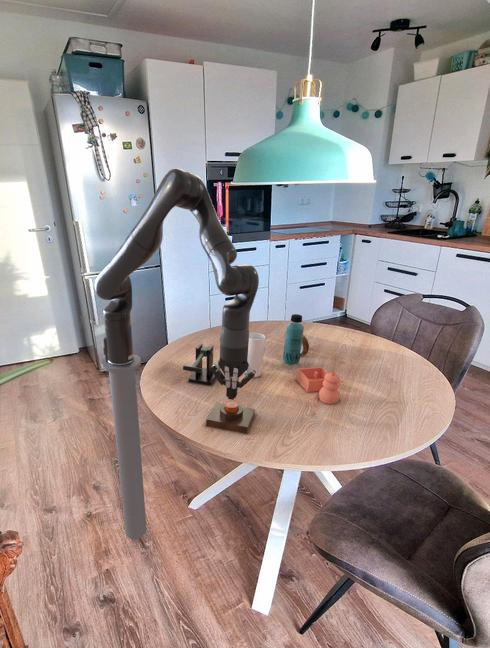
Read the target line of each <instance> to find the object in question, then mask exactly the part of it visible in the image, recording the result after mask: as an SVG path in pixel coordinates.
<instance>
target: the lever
mask: <svg viewBox="0 0 490 648" xmlns="http://www.w3.org/2000/svg"><path fill="white" fill-rule="evenodd" d="M209 347H210V346H205V345H204V346H203V345H202V348H201V350H200V355H199V357H198V358H197V360H196V359H195V361H194V363H192V365H191V366H189V365H183V367H182V370H183V371H188V372H193V373H194V372H199V373H201V372H202V368H203V367H202V368H196V367H197V366H198V364H199V363H200V361H201V360H202V361H203V358H207V349H208V348H209Z"/></svg>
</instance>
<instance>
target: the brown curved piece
mask: <svg viewBox="0 0 490 648" xmlns="http://www.w3.org/2000/svg"><path fill="white" fill-rule="evenodd" d="M285 339H286V332H285V334H284V340H285ZM301 347H302V348H301V353H300V356H305V355H307V354H308V353H309V350H310V345H309V341H308V338H307V337H306V335H304V334H303V338H302V346H301Z"/></svg>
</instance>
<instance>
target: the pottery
mask: <svg viewBox="0 0 490 648" xmlns="http://www.w3.org/2000/svg"><path fill="white" fill-rule="evenodd" d="M295 380H296V381H297V382H298V383H299V384H300V385H301V387H302V388H303V389H304V390H305V391H306V393H310V392H312V393H313V392H318V398H319V400H320V401H321V402H322V403H325V404H327V405H328V404H329V405H334V404H337V403H338V402H339V400H340V397H341V394H340V393H341V392H340V391H339V388H340V386H341V385H340V381H341V377H340V376H339V375H338V374H337V372H336V371H334V370H331V371H330V372H329V371H327V370H326V369H325V368H324V367H323V366H318V367H304V368H297V372H296V379H295Z"/></svg>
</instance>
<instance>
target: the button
mask: <svg viewBox="0 0 490 648" xmlns="http://www.w3.org/2000/svg"><path fill="white" fill-rule="evenodd" d="M224 404H225V403H224ZM238 404H239V403H238V402H236V401H234V400H230V401H227V402H226V404H225V410H226V411H227V412H230V413H235V412H237V411H238Z"/></svg>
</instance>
